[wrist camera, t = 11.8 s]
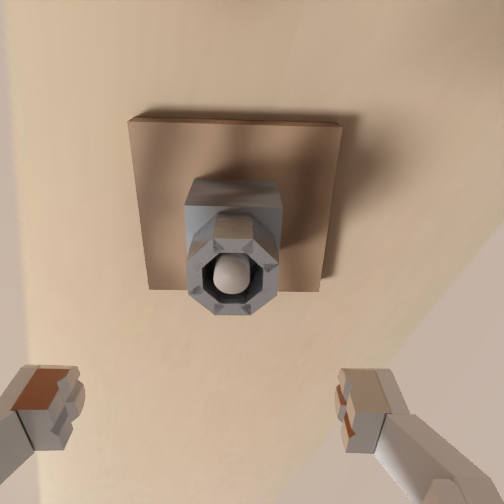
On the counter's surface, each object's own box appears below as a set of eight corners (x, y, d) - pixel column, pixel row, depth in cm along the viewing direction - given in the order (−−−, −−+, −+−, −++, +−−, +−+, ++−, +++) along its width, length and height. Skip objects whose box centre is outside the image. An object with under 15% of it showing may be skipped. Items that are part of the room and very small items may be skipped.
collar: (276, 214, 26) (281, 239, 23) (271, 283, 29) (275, 315, 26) (192, 212, 26) (184, 237, 23) (196, 282, 29) (189, 314, 26)
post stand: (337, 122, 31) (384, 162, 21) (315, 280, 39) (341, 367, 28) (134, 117, 30) (76, 154, 20) (153, 278, 38) (119, 365, 28)
